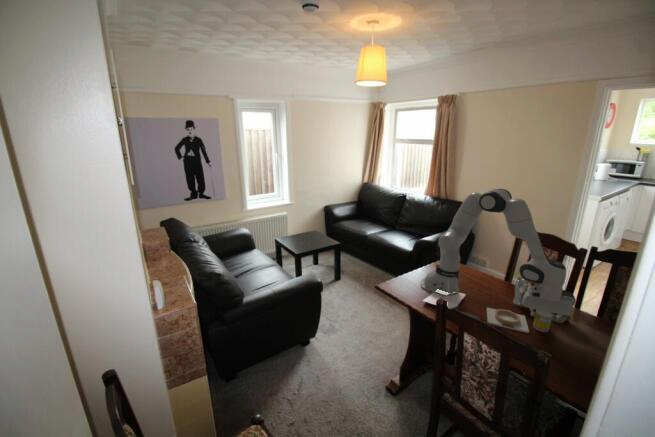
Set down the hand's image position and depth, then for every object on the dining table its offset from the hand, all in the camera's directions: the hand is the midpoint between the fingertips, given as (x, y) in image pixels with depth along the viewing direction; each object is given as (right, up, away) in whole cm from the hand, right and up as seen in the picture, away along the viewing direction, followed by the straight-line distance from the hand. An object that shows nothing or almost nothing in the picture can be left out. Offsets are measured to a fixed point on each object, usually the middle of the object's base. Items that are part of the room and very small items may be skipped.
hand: (543, 317), depth 148 cm
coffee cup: (+13, -4, +10) cm, 17 cm away
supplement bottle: (0, -6, +2) cm, 6 cm away
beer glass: (+2, 0, +23) cm, 23 cm away
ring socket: (-14, -4, +8) cm, 16 cm away
